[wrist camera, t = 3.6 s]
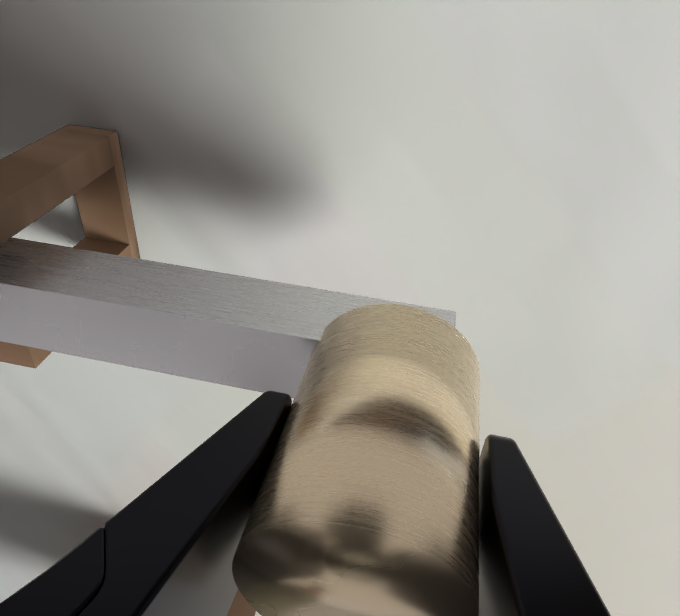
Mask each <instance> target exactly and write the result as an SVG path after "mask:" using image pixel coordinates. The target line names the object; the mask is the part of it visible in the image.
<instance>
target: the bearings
mask: <svg viewBox="0 0 680 616" xmlns="http://www.w3.org/2000/svg"><path fill="white" fill-rule="evenodd" d="M73 194H75V196H76V200H77V204H78V208H79V212H80V216H81V221H82V225H83V229H84V233H85V238H84V239H83V240H82V241H80V242H79V243H78V244H77V245H76V246H74V247H73V248H77V249H83V250H89V251H95V252H101V253H107V254H113V255H119V256H125V257H131V258H137V259H140V255H139V250H138V244H137V239H136V233H135V228H134V222H133V217H132V211H131V205H130V200H129V194H128V189H127V183H126V178H125V172H124V167H123V161H122V155H121V150H120V144H119V139H118V133H117V131H112V130H104V129H97V128H90V127H82V126H75V125H67V126H65V127H63V128H61V129H59V130H57V131H55V132H53V133H51V134H49V135H47V136H45V137H44V138H42V139H40V140H38V141H36V142H34V143H32V144H30V145H28V146H26V147H24V148H22V149H20V150H18V151H16V152H14V153H12V154H10V155H8V156H7V157H5V158H3V159H1V160H0V245H1V244H2V243H4V242H5V241H7V240H8V239H9V238H11V237H12V236H14V235H15V234H17V233H18V232H20V231H21V230H22V229H24V228H25V227H27V226H28V225H30V224H31V223H33V222H34V221H36V220H37V219H38V218H40V217H41V216H43V215H44V214H46V213H47V212H49V211H50V210H51V209H53V208H54V207H56V206H57V205H59V204H60V203H62V202H63V201H64V200H66V199H67V198H69V197H70V196H72V195H73ZM51 352H52V351H48V350H43V349H38V348H33V347H28V346H23V345H18V344H12V343H7V342H2V341H0V361H1V362H6V363H11V364H16V365H21V366H26V367H31V368H36V367H37V366H38V365H39V364H40V363H41V362H42V361H43V360H44V359H45V358H46V357H47V356H48V355H49V354H50V353H51Z"/></svg>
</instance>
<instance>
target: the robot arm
mask: <svg viewBox="0 0 680 616" xmlns="http://www.w3.org/2000/svg"><path fill="white" fill-rule="evenodd" d="M291 406H292V401H291V397H290V395H288V394H286V393H281V392H276V391H266V392H265V393H263V394H262V395H261V396H260V397H258V398H257V399H256V400H255V401H254V402H252V403H251V404H250V405H249V406H247V407H246V408H245V409H244V410H243V411H241V412H240V413H239V414H238V415H237V416H235V417H234V418H233V419H232V420H230V421H229V422H228V423H227V424H226V425H224V426H223V427H222V428H221V429H220V430H218V431H217V432H216V433H215V434H213V435H212V436H211V437H210V438H209V439H207V440H206V441H205V442H204V443H203V444H201V445H200V446H199V447H198V448H196V449H195V450H194V451H193V452H192V453H190V454H189V455H188V456H187V457H186V458H184V459H183V460H182V461H181V462H179V463H178V464H177V465H176V466H175V467H173V468H172V469H171V470H170V471H168V472H167V473H166V474H165V475H164V476H162V477H161V478H160V479H159V480H158V481H156V482H155V483H154V484H153V485H151V486H150V487H149V488H148V489H147V490H145V491H144V492H143V493H142V494H141V495H139V496H138V497H137V498H136V499H134V500H133V501H132V502H131V503H130V504H128V505H127V506H126V507H125V508H124V509H122V510H121V511H120V512H119V513H117V514H116V515H115V516H114V517H113V518H111V519H110V520H109V521H108V522H107V523H106V524H105V528H104V527H100V528H99V529H98V530H96V531H95V532H94V533H93V534H92V535H90V536H89V537H88V538H87V539H86V540H84V541H83V542H82V543H81V544H79V545H78V546H77V547H76V548H74V549H73V550H72V551H71V552H69V553H68V554H67V555H65V556H64V557H63V558H62V559H60V560H59V561H58V562H57V563H55V564H54V565H53V566H51V567H50V568H49V569H48V570H46V571H45V572H43V573H42V574H41V575H39V576H38V577H37V578H35V579H34V580H32V581H31V582H30V583H28V584H27V585H25V586H24V587H23V588H21V589H20V590H18V591H17V592H16V593H14V594H13V595H11V596H10V597H9V598H7V599H6V600H4V601H3V602H1V603H0V616H227V613H228V611H229V609H230V606H231V604H232V601H233V599H234V597H235V594H236V592H237V589H238V588H237V586H236V583H235V581H234V578H233V573H232V561H233V558H234V554H235V552H236V549H237V547H238V544H239V541H240V539H241V536H242V534H243V531H244V528H245V526H246V523H247V521H248V518H249V515H250V513H251V510H252V508H253V505H254V502H255V500H256V497H257V495H258V492H259V489H260V487H261V484H262V482H263V479H264V476H265V474H266V471H267V469H268V466H269V463H270V461H271V458H272V456H273V453H274V450H275V448H276V445H277V443H278V440H279V437H280V435H281V432H282V430H283V427H284V424H285V422H286V419H287V416H288V414H289V411H290V409H291ZM479 616H611V615H610V613H609V611H608V610H607V608H606V606H605V604H604V602H603V601H602V599H601V597H600V595H599V593H598V591H597V590H596V588H595V586H594V584H593V582H592V581H591V579H590V577H589V575H588V573H587V571H586V570H585V568H584V566H583V564H582V562H581V560H580V559H579V557H578V555H577V553H576V551H575V550H574V548H573V546H572V544H571V542H570V540H569V539H568V537H567V535H566V533H565V531H564V530H563V528H562V526H561V524H560V522H559V520H558V519H557V517H556V515H555V513H554V511H553V510H552V508H551V506H550V504H549V502H548V500H547V499H546V497H545V495H544V493H543V491H542V489H541V488H540V486H539V484H538V482H537V480H536V479H535V477H534V475H533V473H532V471H531V469H530V468H529V466H528V464H527V462H526V460H525V459H524V457H523V455H522V453H521V451H520V449H519V448H518V446H517V444H516V442H515V441H514V440H513V439H511V438H506V437H501V436H496V435H488V436H487V438H486V440H485V443H484V446H483V449H482V452H481V455H480V458H479Z"/></svg>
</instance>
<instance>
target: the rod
mask: <svg viewBox="0 0 680 616" xmlns="http://www.w3.org/2000/svg"><path fill="white" fill-rule="evenodd" d="M455 320H456V312H453V311H447V310H441V309H435V308H429V307H423V306H417V305H411V304H405V303H399V302H393V301H387V300H381V299H375V298H369V297H363V296H357V295H351V294H345V293H340V292H334V291H328V290H322V289H316V288H310V287H304V286H298V285H292V284H286V283H280V282H274V281H268V280H262V279H256V278H250V277H244V276H238V275H232V274H226V273H220V272H214V271H208V270H202V269H196V268H190V267H184V266H178V265H172V264H166V263H161V262H155V261H149V260H143V259H137V258H131V257H125V256H119V255H113V254H107V253H101V252H95V251H89V250H83V249H77V248H71V247H65V246H59V245H53V244H47V243H41V242H35V241H29V240H23V239H17V238H9V239H8V240H7V241H5V242H4V243H2V244H1V245H0V341H2V342H7V343H12V344H18V345H23V346H28V347H33V348H38V349H43V350H48V351H53V352H59V353H64V354H69V355H74V356H79V357H84V358H89V359H94V360H100V361H105V362H110V363H115V364H120V365H125V366H130V367H135V368H141V369H146V370H151V371H156V372H161V373H166V374H171V375H176V376H182V377H187V378H192V379H197V380H202V381H207V382H212V383H217V384H223V385H228V386H233V387H238V388H243V389H248V390H253V391H258V392H264V393H265V392H266V391H276V392H281V393H286V394H288V395H290V397H291V398H294V401H293V403H292V406H291V409H290V411H289V414H288V416H287V419H286V422H285V424H284V427H283V430H282V432H281V435H280V437H279V440H278V443H277V445H276V448H275V450H274V453H273V456H272V458H271V461H270V463H269V466H268V469H267V471H266V474H265V476H264V479H263V482H262V484H261V487H260V489H259V492H258V495H257V497H256V500H255V502H254V505H253V508H252V510H251V513H250V515H249V518H248V521H247V523H246V526H245V528H244V531H243V534H242V536H241V539H240V541H239V544H238V547H237V549H236V552H235V554H234V558H233V561H232V573H233V578H234V581H235V583H236V586H237V588H238V589H239V591H240V593H241V594H242V596H243V597H244V598H245V599H246V601H247V602H248V603H249V604H250V605H251V606H252V607H253V608H254V609H255V610H256V611H257V612H258V613H259V614H261V615H262V616H479V399H480V371H479V365H478V361H477V358H476V355H475V353H474V351H473V349H472V347H471V345H470V344H469V343H468V341H467V340H466V339H465V337H464V336H463V335H462V334H461V333H460V332H459V331H458V330H457V329H455Z"/></svg>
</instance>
